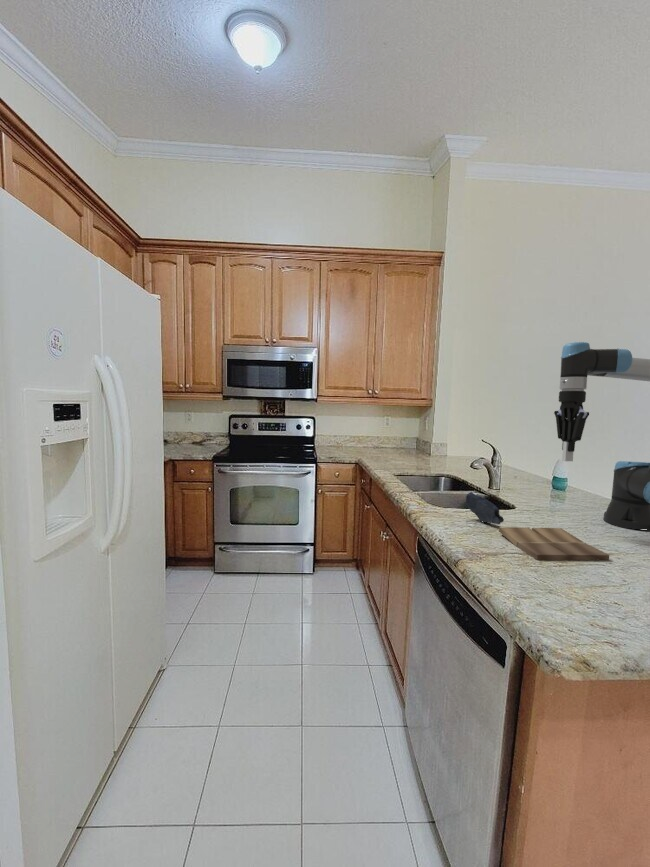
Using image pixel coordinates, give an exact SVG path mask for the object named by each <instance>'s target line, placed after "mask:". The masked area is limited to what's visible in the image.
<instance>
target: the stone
mask: <svg viewBox="0 0 650 867" xmlns="http://www.w3.org/2000/svg"><path fill="white" fill-rule="evenodd" d="M465 506H467V508H468V509H469V510H470V512H472V513H474V515H475V516H476V517H477V518H478V520H479V521H480V522H481V521H483V522H488V523H489V524H494V525H501V523H503V522H504V520H505V519H504V517H503V515H501V514H500V508H499V507H497V506H496V505H495V504H494V503H492V502H491V501H489V500H488V499H487V498H485V497H482V496H480V495H478V494H476V493H473V492H472V491H470V492H468V493H467V494H466V496H465Z"/></svg>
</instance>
